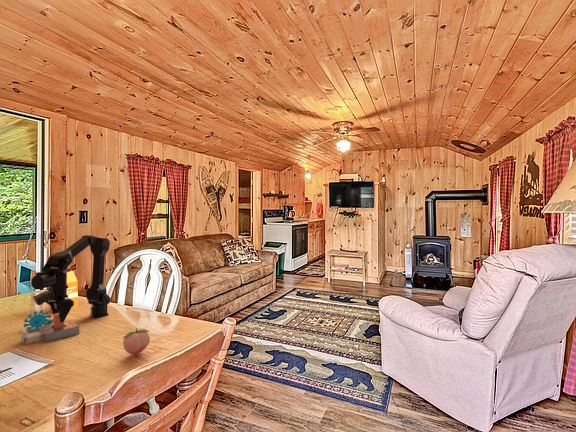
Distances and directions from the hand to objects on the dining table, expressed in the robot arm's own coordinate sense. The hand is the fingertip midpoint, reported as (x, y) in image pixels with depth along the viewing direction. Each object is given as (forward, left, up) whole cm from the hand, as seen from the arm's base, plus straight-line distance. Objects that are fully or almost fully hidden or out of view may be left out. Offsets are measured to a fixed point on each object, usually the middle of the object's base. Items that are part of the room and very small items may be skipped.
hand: (58, 319), depth 135 cm
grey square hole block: (0, 0, -6) cm, 6 cm away
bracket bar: (+9, 0, -6) cm, 11 cm away
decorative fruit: (-13, +43, -7) cm, 45 cm away
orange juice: (-13, -38, -7) cm, 41 cm away
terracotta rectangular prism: (0, 0, -6) cm, 6 cm away
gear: (+4, -14, -7) cm, 16 cm away
